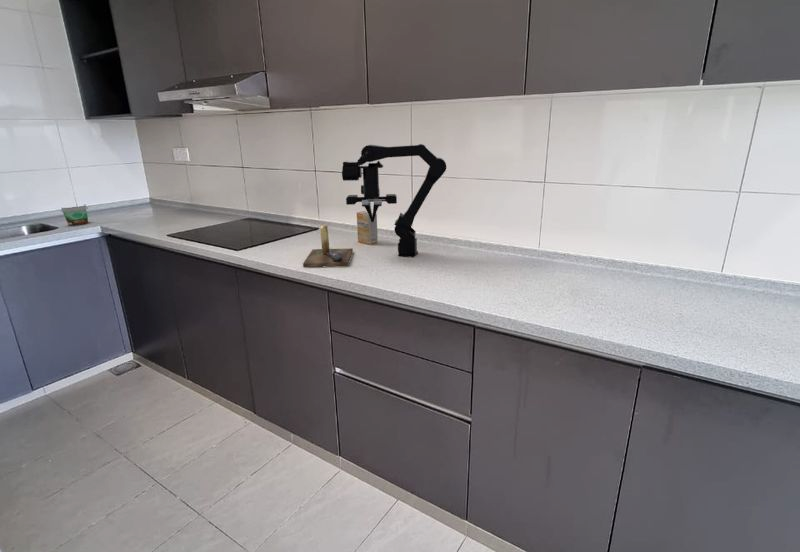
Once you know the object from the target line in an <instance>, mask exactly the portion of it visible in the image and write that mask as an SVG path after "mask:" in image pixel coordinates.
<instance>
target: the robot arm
mask: <svg viewBox="0 0 800 552" xmlns="http://www.w3.org/2000/svg"><path fill="white" fill-rule="evenodd" d="M360 154H361V156H360V157H359V158H358V159H357V161H351V162H350V161H343V162H342V169H341V170H342V171H341V177H342V180H343V181H345V182H346V181H349V182H350V181H351V182H352V181H354V182H355V181H360V178H362V181H363V182H362V183H363V185H362V184H361V185H360V192H361V193H360V194H361V195H363V196H359V195H358V194H348V195H347V197H346V199H345V203H346V206H347V205H353V206H354V205H356V204H357V203H361V207H363V208H365V211H366V212H368V214H369V217H370V219H371V222H374V219H375V215H376V214H377V212H378V209H379V207H382V204H383V202H386V203H387V205H390V204H393V205H394V204H395V205H397V199H398V197H397V196H398V195H397V194H395V193H387V194H385V196H381V195H380V193H381V192H380V190H381V189H380V180H379V179H380V178H379V169H382V168H384V165H383V163H382V162H381V161H380V160H383V159H387V158H402V157H416V156H417V157H419V158H421V159H422V160H423V161H424V163H426V164H427V165H428V166H429V167H428V169H427V172H426V175H425V178H424V180H423V181H422V184H421V185H420V187H419V189H418V191H417V192H416V194H415V195H414V198H413V199H412V201H411V203H410V204H409V206H408V208H407V210H406V211H405V212H404V213H402V212H400V213H399V215H398V218H397V219H396V220H395V221H394V226H395V227H394V233H395V235H396V236H397V237H399V240H398V243H397V253H398V255H397V256H398V257H408V256H411V257H410V258H414V256H415V257H416V256H417V254H418V253H419V251H418V240H417V239H418V238H416V233H417V232H416V230H415V229H414V228H413V227H412V226H413V222H414V221H415V217H416V215H417V214H418V213H419V211H420V209H421V207H422V205H423V203H424V201H425V200H426V199H427V196H428V195H429V193H430V191H431V190H432V188H433V187H434V185H435V184H436V183H437V181H439V180H440V178H441V177H442V176H443V175H444V174H445V172H446V171H447V163H446V161H445V159H443V158H442V157H437V156H436V155H435V154H434V153H433V152H432V151H430V150H429V149H428V148H427V147H426V145H424V144H423V143H420V144H413V145H411V144H409V145H396V146H384V145H376V144H367V145H365V146H364V147H363V148H362V149H361V151H360ZM375 161H377V162H375ZM366 163H368V164H367V165H365V164H366ZM372 202H373V209H372V204H371V203H372ZM372 213H373V217H372Z"/></svg>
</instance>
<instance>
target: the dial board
mask: <svg viewBox="0 0 800 552" xmlns="http://www.w3.org/2000/svg"><path fill="white" fill-rule="evenodd" d="M321 249H322V248H319V249H318V248H317V249H315V248H313V249H312V250H311V251H310V252H309V254H308V256H306V259H305V260H304V261H303V262H302V265H303V266H302V268H303V267H309V268H324V267H323V266H348V267H349V265H348V264H350V262H349V261H351V259H350V258H352V256H351V255H353V253H352V252H354V250H353V247H351V248H350V247H349V248H329V250H330V252H332V253H334V252H341V253H342V260H341V261H333V260H332V258H331V257H330V256H328V255H326V254H323V253H322V250H321Z"/></svg>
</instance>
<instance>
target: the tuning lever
mask: <svg viewBox="0 0 800 552" xmlns="http://www.w3.org/2000/svg"><path fill="white" fill-rule="evenodd" d="M319 228H320V231H319V232H320V240H321V243H320V244H321V248H320V249H321V250H322V253H323V254H326V255H328V256H330V257H331V258H332V260H333V261H341V260H342V253H341V252H334V253H332V252H330V250H329V249H330V241H329V238H330V237H329V229H328V225H325V224H323V225H320V226H319Z"/></svg>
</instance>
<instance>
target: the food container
mask: <svg viewBox="0 0 800 552" xmlns="http://www.w3.org/2000/svg"><path fill="white" fill-rule="evenodd" d="M87 209H88V206H87V204H84V205H81V206H80V205H79V206H71V207H61V209H60V211H61V212H62V213H63V216H64V218H65V221H66V223H67V226H68V225H69V227H70V226H71V227H72V226H73V227H75V226H74V225H77V226H84V225H87V224H89V218H88V210H87Z"/></svg>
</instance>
